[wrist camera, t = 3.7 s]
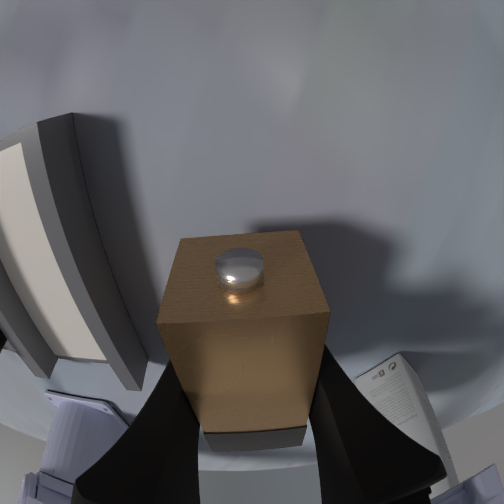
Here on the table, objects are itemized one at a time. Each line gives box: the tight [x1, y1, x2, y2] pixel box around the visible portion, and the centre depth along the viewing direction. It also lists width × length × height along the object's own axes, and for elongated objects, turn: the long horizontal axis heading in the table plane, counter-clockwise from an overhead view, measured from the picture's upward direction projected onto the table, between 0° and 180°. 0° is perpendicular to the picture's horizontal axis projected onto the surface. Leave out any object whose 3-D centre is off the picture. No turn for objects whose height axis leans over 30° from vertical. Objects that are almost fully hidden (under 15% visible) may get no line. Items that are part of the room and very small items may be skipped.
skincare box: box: [355, 353, 459, 499], centre depth 15 cm, size 6×4×12 cm
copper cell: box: [156, 230, 331, 451], centre depth 10 cm, size 10×4×4 cm, turn 3°
